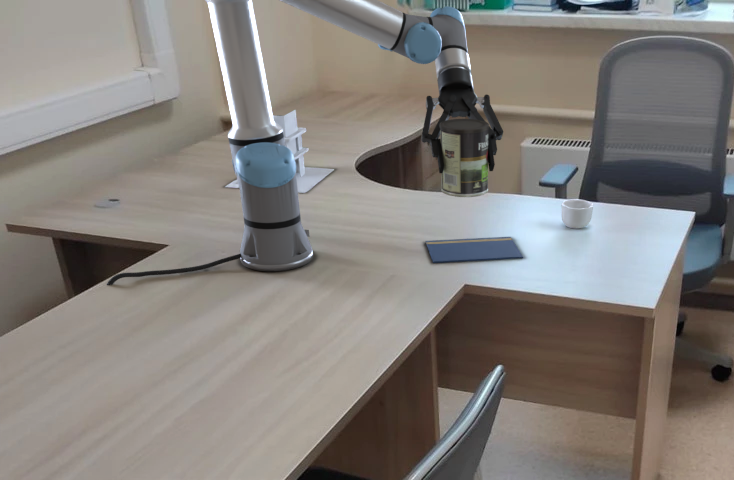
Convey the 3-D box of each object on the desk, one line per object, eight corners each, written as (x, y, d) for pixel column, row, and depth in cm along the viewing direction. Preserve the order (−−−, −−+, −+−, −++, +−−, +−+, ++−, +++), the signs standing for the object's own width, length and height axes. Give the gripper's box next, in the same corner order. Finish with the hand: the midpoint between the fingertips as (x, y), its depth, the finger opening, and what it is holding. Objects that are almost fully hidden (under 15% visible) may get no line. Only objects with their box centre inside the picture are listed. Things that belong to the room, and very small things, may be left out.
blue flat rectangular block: (433, 263, 182) (433, 261, 182) (425, 242, 193) (425, 240, 193) (523, 258, 186) (523, 256, 186) (510, 238, 197) (510, 236, 197)
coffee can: (492, 185, 186) (493, 119, 179) (482, 199, 177) (482, 130, 170) (447, 181, 187) (446, 116, 180) (435, 195, 179) (433, 127, 172)
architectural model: (335, 169, 244) (330, 104, 235) (305, 192, 223) (298, 123, 214) (260, 163, 247) (252, 100, 238) (224, 186, 226) (214, 118, 217)
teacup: (592, 231, 202) (594, 209, 200) (560, 230, 202) (561, 208, 200) (589, 218, 211) (591, 197, 208) (559, 217, 211) (560, 196, 208)
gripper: (502, 86, 188) (516, 175, 183) (401, 88, 184) (412, 180, 178) (508, 64, 181) (522, 157, 175) (402, 66, 176) (414, 161, 171)
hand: (467, 168), depth 177 cm, fingers closed on coffee can, 10 cm apart
